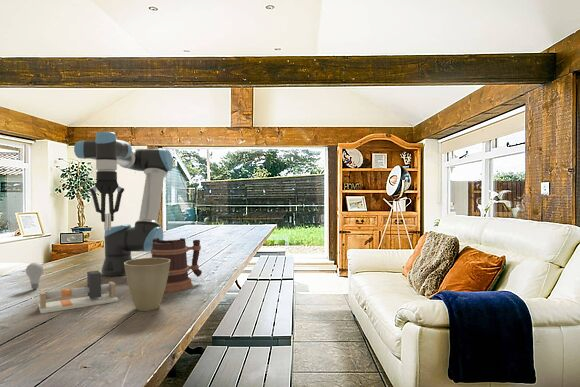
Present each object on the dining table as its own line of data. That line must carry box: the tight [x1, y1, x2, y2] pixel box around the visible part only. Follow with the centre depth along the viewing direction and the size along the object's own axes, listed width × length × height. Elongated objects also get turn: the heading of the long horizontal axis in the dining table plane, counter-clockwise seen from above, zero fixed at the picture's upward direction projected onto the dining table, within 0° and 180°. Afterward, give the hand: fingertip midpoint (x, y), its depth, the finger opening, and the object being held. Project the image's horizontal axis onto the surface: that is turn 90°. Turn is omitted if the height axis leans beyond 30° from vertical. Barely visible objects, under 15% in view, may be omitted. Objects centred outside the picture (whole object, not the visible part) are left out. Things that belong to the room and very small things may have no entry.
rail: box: [38, 281, 119, 314], centre depth 145 cm, size 24×10×6 cm, turn 125°
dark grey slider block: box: [86, 270, 102, 298], centre depth 147 cm, size 4×5×9 cm, turn 35°
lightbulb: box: [25, 262, 44, 290], centre depth 167 cm, size 6×6×11 cm
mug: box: [149, 237, 203, 293], centre depth 169 cm, size 18×23×20 cm
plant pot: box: [124, 257, 170, 312], centre depth 139 cm, size 15×15×16 cm
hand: (107, 229), depth 163 cm, fingers closed
